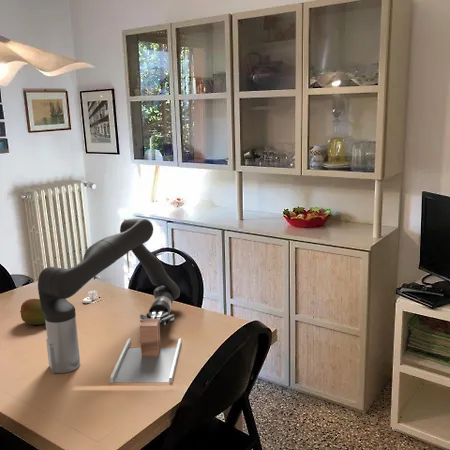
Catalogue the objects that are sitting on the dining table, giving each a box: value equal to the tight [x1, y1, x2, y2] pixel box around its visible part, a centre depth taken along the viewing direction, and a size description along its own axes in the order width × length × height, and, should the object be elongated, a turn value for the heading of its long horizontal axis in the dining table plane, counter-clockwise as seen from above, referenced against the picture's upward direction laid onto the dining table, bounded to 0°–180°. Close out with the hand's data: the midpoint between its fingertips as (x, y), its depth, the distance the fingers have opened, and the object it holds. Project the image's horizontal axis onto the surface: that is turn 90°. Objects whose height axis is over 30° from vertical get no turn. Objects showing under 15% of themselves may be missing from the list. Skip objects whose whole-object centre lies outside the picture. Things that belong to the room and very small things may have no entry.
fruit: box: [19, 298, 46, 326], centre depth 194 cm, size 12×13×10 cm
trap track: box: [109, 338, 182, 384], centre depth 163 cm, size 26×19×2 cm
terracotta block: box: [139, 319, 162, 357], centre depth 167 cm, size 6×6×11 cm
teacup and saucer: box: [82, 290, 98, 304], centre depth 218 cm, size 9×8×4 cm
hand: (153, 328), depth 172 cm, fingers closed
